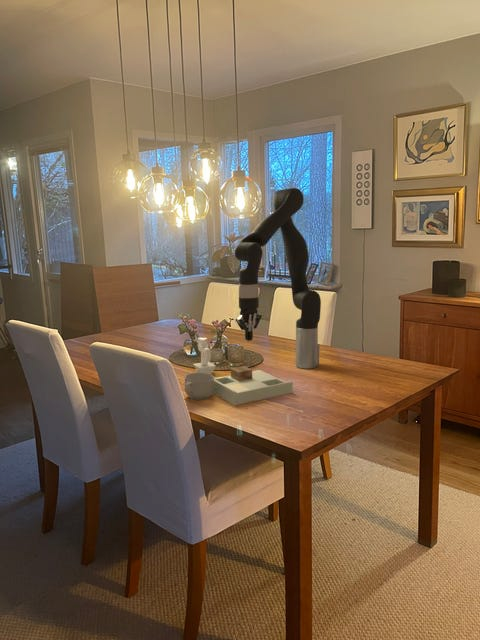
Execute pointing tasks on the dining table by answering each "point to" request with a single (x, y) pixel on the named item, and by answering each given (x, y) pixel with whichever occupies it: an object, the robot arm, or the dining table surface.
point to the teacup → (199, 385)
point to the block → (241, 373)
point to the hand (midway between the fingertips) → (248, 340)
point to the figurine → (204, 357)
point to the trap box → (251, 388)
